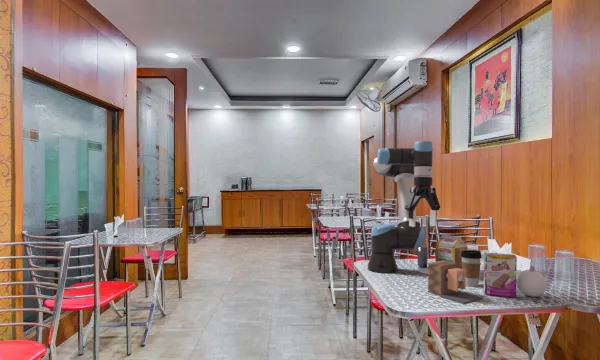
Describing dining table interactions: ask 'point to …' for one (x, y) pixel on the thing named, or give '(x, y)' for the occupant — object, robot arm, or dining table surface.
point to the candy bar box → (500, 274)
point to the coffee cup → (471, 266)
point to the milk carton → (450, 249)
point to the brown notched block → (439, 277)
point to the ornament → (531, 282)
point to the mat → (461, 297)
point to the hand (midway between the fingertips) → (422, 225)
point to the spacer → (456, 279)
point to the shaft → (423, 263)
